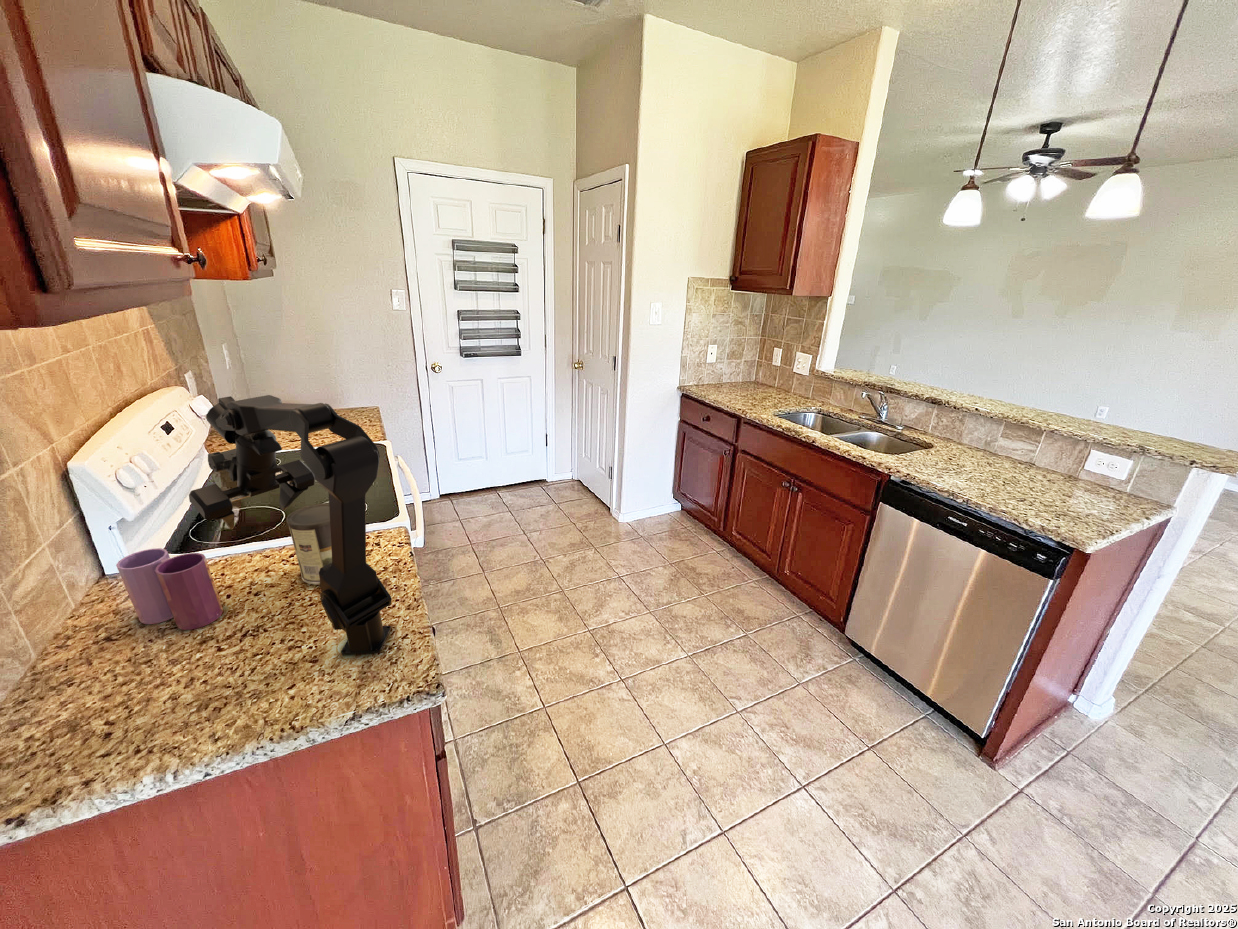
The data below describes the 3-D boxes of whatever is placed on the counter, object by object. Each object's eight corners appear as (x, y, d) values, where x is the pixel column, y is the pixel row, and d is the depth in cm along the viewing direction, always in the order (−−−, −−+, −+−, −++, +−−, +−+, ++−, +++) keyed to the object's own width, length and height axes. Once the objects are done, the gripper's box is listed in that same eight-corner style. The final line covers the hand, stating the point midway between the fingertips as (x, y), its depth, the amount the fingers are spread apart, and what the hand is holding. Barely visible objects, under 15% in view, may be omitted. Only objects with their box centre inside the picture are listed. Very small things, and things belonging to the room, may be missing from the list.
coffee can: (357, 554, 113) (346, 499, 108) (352, 579, 104) (340, 521, 99) (305, 562, 109) (291, 506, 104) (296, 589, 100) (280, 529, 95)
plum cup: (208, 629, 89) (188, 573, 85) (167, 631, 88) (144, 575, 84) (231, 605, 95) (213, 552, 91) (193, 606, 95) (173, 553, 90)
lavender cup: (170, 623, 90) (148, 568, 86) (129, 625, 89) (105, 570, 85) (195, 600, 96) (176, 547, 92) (157, 601, 96) (136, 549, 91)
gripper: (285, 420, 97) (284, 478, 106) (167, 446, 82) (177, 511, 91) (319, 453, 94) (314, 509, 103) (203, 486, 79) (209, 549, 88)
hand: (257, 518), depth 96 cm, fingers open, 9 cm apart
